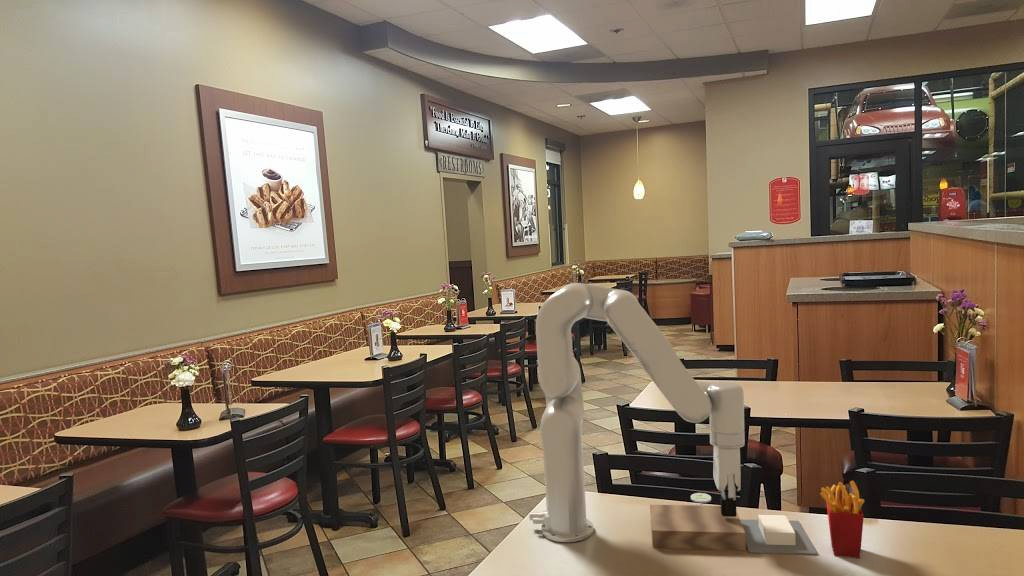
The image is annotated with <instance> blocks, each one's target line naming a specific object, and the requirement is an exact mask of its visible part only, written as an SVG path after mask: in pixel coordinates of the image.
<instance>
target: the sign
mask: <svg viewBox="0 0 1024 576" xmlns="http://www.w3.org/2000/svg"><path fill="white" fill-rule="evenodd" d="M690 500H691V501H692V502H696V503H698V504H699V503H700V506H703V504H706V503H709V502H711V501H712V496H711V495H709V494H707V493H705V492H703V493H702V492H696V493H695V492H694V493H693V494H691V495H690Z"/></svg>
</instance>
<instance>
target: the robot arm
mask: <svg viewBox="0 0 1024 576" xmlns="http://www.w3.org/2000/svg"><path fill="white" fill-rule="evenodd" d="M583 318H584V319H589V320H596V321H602V322H607V324H608V325H609V326H610V328H611V329H612V330H613V332H614V333H615V334H616V336H618V338H619V339H620V340H621V342H622V343H623V344H624V345H625V346H626V348H627V349H628V350H629V352H630V353H631V354H632V356H633V357H634V358H635V359H636V361H637V362H638V364H640V366H641V368H642V369H643V370H644V372H645V373H646V374H647V375H648V376H649V378H650V379H651V380H652V382H653V383H654V384H655V386H656V387H657V389H659V391H660V393H661V394H662V395H663V397H664V398H665V400H667V401H668V402H669V405H671V407H672V409H674V410H675V412H676V413H677V414H678V415H679V417H681V418H682V419H683V420H684V421H686V422H688V423H693V424H696V423H701V422H704V421H705V420H707V418H708V419H709V444H710V445H712V446H713V455H712V456H713V458H712V459H713V463H712V464H713V465H712V466H713V469H712V470H713V471H712V473H713V474H712V475H713V477H712V478H713V480H714V483H715V486H716V489H717V490H718V491H719V492H720V495H721V496H720V506H721V514H722V516H726V517H736V511H737V492H739V491H741V486H742V485H741V482H742V481H741V473H742V471H741V450H740V449H741V448H743V447H744V446H745V441H746V440H745V397H744V396H745V395H744V388H743V387H742V386H741V385H740V384H738V383H734V382H729V381H728V382H727V381H726V382H723V381H722V382H715V383H714V382H706V381H704V382H703V381H698V380H695V378H694V377H693V376H692V375H691V374H690V372H689V371H688V370H687V368H686V367H685V365H684V364H683V363H682V361H681V360H680V358H679V356H678V355H677V352H676V351H675V348H674V347H673V345H672V344H671V342H670V341H669V338H668V337H666V335H665V334H664V333H663V332H662V330H661V329H660V327H658V325H657V324H656V323H655V321H653V319H652V318H651V317H650V316H649V314H648V313H647V311H646V310H645V309H644V308H643V306H641V304H640V303H639V299H638V298H637V296H635V295H634V294H633V293H632V292H630V291H629V290H625V289H619V288H610V287H605V286H600V285H599V286H598V285H593V284H587V283H581V282H572V283H568V284H566V285H565V286H563V287H561V288H560V289H559V290H557V291H556V292H554V293H553V294H552V295H550V296H549V297H548V298H547V299H546V300H545V301H544V302H543V303H542V305H541V306H540V308H539V310H538V313H537V316H536V321H535V337H536V339H535V340H536V353H537V354H536V355H537V368H538V383H539V386H540V388H541V390H542V391H543V393H544V395H545V404H546V405H545V406H546V408H545V410H543V411H544V412H543V413H542V416H541V419H540V427H539V428H540V431H539V432H540V438H541V446H542V454H543V455H542V457H543V471H544V484H545V502H546V503H545V505H546V509H545V511H544V510H543V511H542V512H537V511H530V512H529V521H532V524H533V525H541V528H540V529H541V534H542V536H543V537H545V538H546V539H548V540H550V541H554V542H557V543H574V542H579V541H580V542H581V541H583V540H585V539H588V538H590V536H592V534H593V533H594V523H593V522H592V521H591V520H590V519H588V518H587V504H586V488H585V487H586V485H585V470H584V469H585V467H584V454H583V453H584V452H583V442H582V439H583V438H582V426H583V420H584V416H585V409H584V406H585V405H584V397H583V396H584V395H583V385H582V374H581V368H580V364H579V362H578V360H577V358H576V357H574V352H573V351H574V350H573V337H572V327H573V325H574V324H575V322H577V321H580V320H582V319H583Z"/></svg>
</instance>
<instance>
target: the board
mask: <svg viewBox="0 0 1024 576" xmlns="http://www.w3.org/2000/svg"><path fill="white" fill-rule="evenodd" d="M649 510H650V511H649V513H650V530H651V540H652V541H651V542H652V544H651V546H652V548H654V549H656V548H658V549H683V550H685V549H686V550H687V549H688V550H692V549H693V550H715V551H716V550H718V551H720V550H721V551H746V549H747V546H746V544H745V531H744V529H743V526H742V524H741V521H740V519H741V518H740V517H739V513H738V511H737V510H736V517H726V516H722V514H721V505H702V506H701V505H694V504H693V505H692V504H691V505H687V504H685V505H684V504H681V505H680V504H679V505H678V504H649Z"/></svg>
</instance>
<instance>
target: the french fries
mask: <svg viewBox="0 0 1024 576" xmlns="http://www.w3.org/2000/svg"><path fill="white" fill-rule="evenodd" d="M849 483H850V486H851V488H852V491H853V493H854V494H853V493H851V492H848V491H847V488H846V485H844V483H842V482H840V481H839V482H838V484H837V485H836V484H833V485H832V486H831V487H830V486H825V488H824V487H823V486H822V487H821V489H820V491H821V492H819V495H820V496H821V497H822V499H823V500H824V501H825V503H826V510H827V517H828V518H827V519H828V525H829V527H828V528H829V537H830V545H831V548H832V553H833V555H834V557H843V558H852V559H861V554H862V553H861V550H862V539H863V529H864V518H865V517H864V512H863V510H862V506H863V504H865V499H863V498H860V491H859V488H858V487H857V485H856V483H855V481H854V480H851V481H849ZM834 493H835V495H834ZM840 493H841V500H840Z"/></svg>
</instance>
